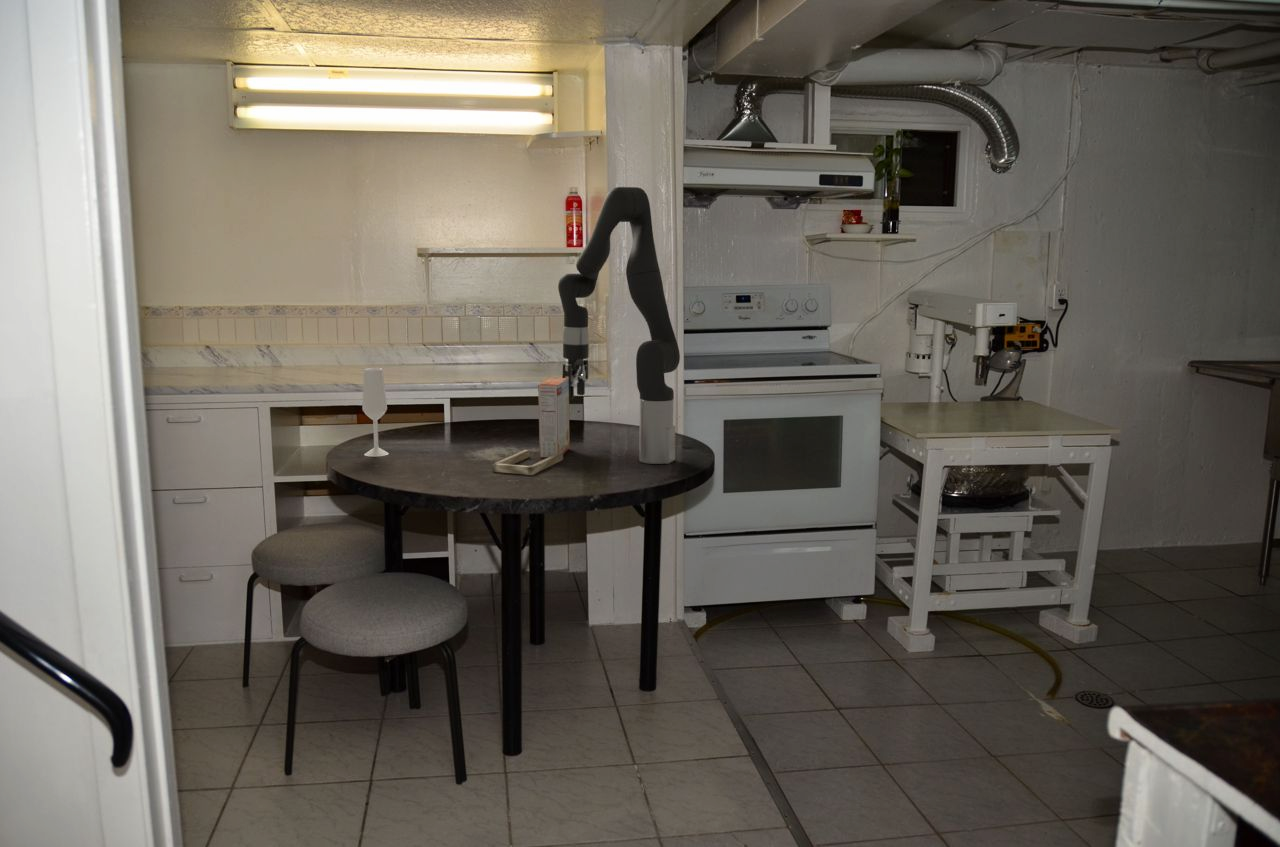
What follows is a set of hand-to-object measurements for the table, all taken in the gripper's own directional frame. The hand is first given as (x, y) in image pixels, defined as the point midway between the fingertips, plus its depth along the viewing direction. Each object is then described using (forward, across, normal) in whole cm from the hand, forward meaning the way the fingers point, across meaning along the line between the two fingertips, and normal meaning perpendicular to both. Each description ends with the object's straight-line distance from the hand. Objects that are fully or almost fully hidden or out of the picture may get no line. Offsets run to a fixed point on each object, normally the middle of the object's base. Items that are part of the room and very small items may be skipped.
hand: (575, 396), depth 292 cm
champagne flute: (+15, -35, +46) cm, 59 cm away
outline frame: (+14, -33, 0) cm, 36 cm away
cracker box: (+14, -16, 0) cm, 21 cm away
